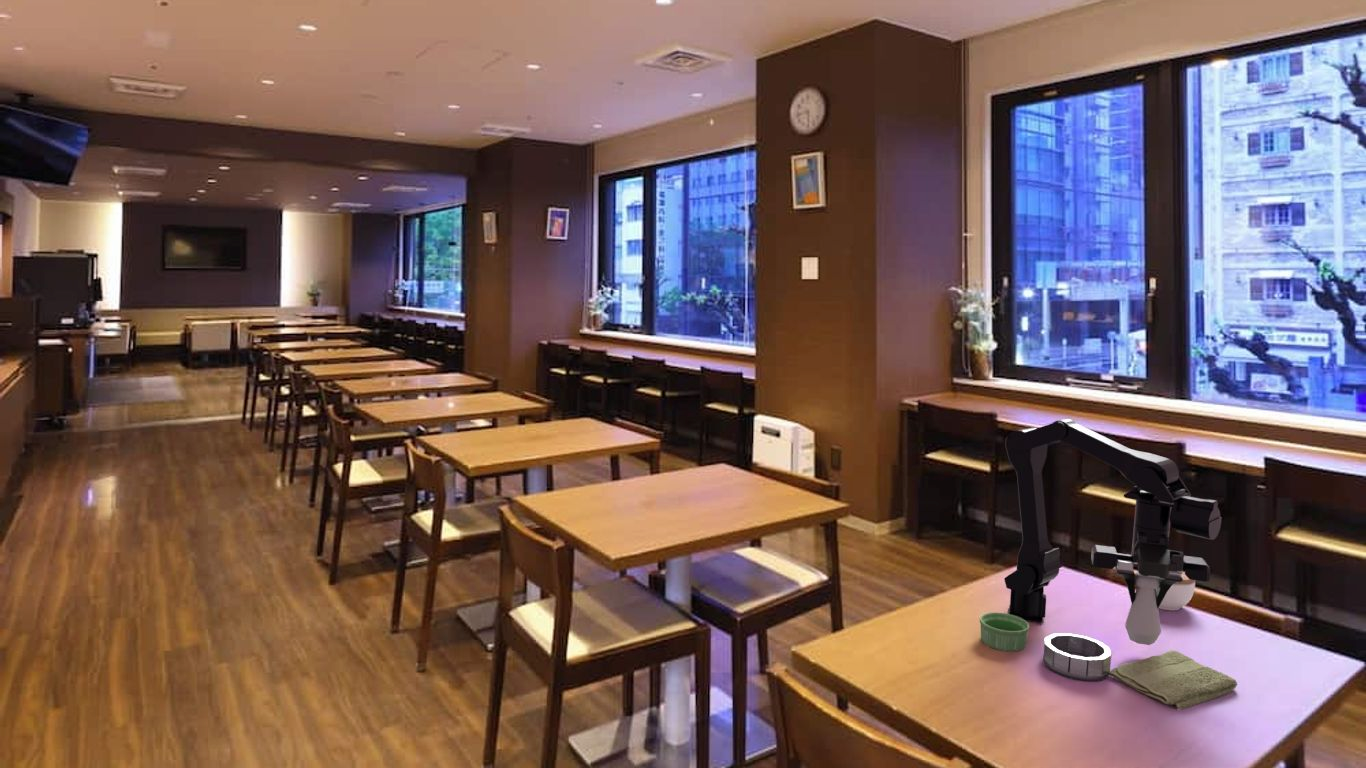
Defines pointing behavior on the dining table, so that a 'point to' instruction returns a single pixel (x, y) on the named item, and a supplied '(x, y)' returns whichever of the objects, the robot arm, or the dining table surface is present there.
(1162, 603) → the lidded jar
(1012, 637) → the ramekin
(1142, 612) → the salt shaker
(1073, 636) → the faceted metal bowl
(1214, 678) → the washcloth
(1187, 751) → the dining table surface
